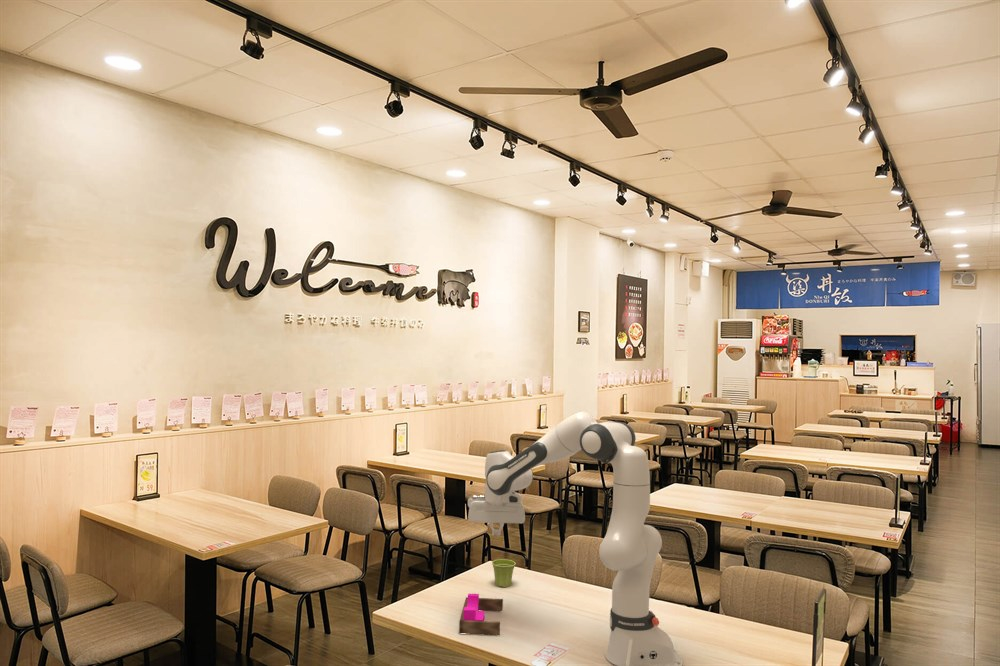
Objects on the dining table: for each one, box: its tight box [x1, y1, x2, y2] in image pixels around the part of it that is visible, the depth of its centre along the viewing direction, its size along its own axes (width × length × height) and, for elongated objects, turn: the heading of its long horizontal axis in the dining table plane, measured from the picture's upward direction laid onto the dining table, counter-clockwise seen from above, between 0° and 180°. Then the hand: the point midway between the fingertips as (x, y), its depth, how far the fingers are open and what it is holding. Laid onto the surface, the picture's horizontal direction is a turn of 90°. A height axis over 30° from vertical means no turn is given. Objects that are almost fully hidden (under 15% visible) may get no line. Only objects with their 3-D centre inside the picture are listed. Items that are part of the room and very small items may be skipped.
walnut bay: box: [458, 596, 504, 636], centre depth 227 cm, size 13×21×4 cm, turn 177°
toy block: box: [463, 593, 486, 621], centre depth 225 cm, size 15×6×8 cm, turn 177°
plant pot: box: [491, 558, 517, 588], centre depth 264 cm, size 9×9×9 cm
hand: (496, 535), depth 236 cm, fingers closed
